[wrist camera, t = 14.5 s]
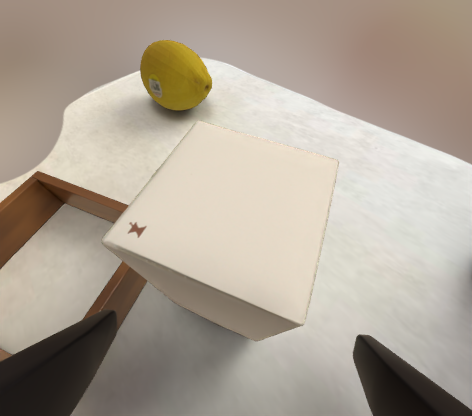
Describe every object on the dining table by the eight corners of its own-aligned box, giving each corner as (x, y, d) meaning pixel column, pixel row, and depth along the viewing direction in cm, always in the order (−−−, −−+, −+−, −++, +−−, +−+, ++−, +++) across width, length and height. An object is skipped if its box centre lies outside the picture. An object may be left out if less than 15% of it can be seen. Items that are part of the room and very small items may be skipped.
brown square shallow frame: (70, 409, 15) (23, 427, 12) (-66, 325, 18) (-137, 319, 14) (173, 238, 22) (162, 218, 18) (64, 195, 24) (37, 170, 21)
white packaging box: (258, 345, 17) (306, 340, 6) (172, 303, 18) (87, 239, 7) (285, 257, 20) (346, 157, 10) (212, 228, 22) (194, 114, 11)
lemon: (138, 100, 34) (115, 38, 27) (180, 81, 37) (168, 21, 30) (182, 135, 30) (168, 73, 23) (225, 111, 33) (223, 49, 26)
